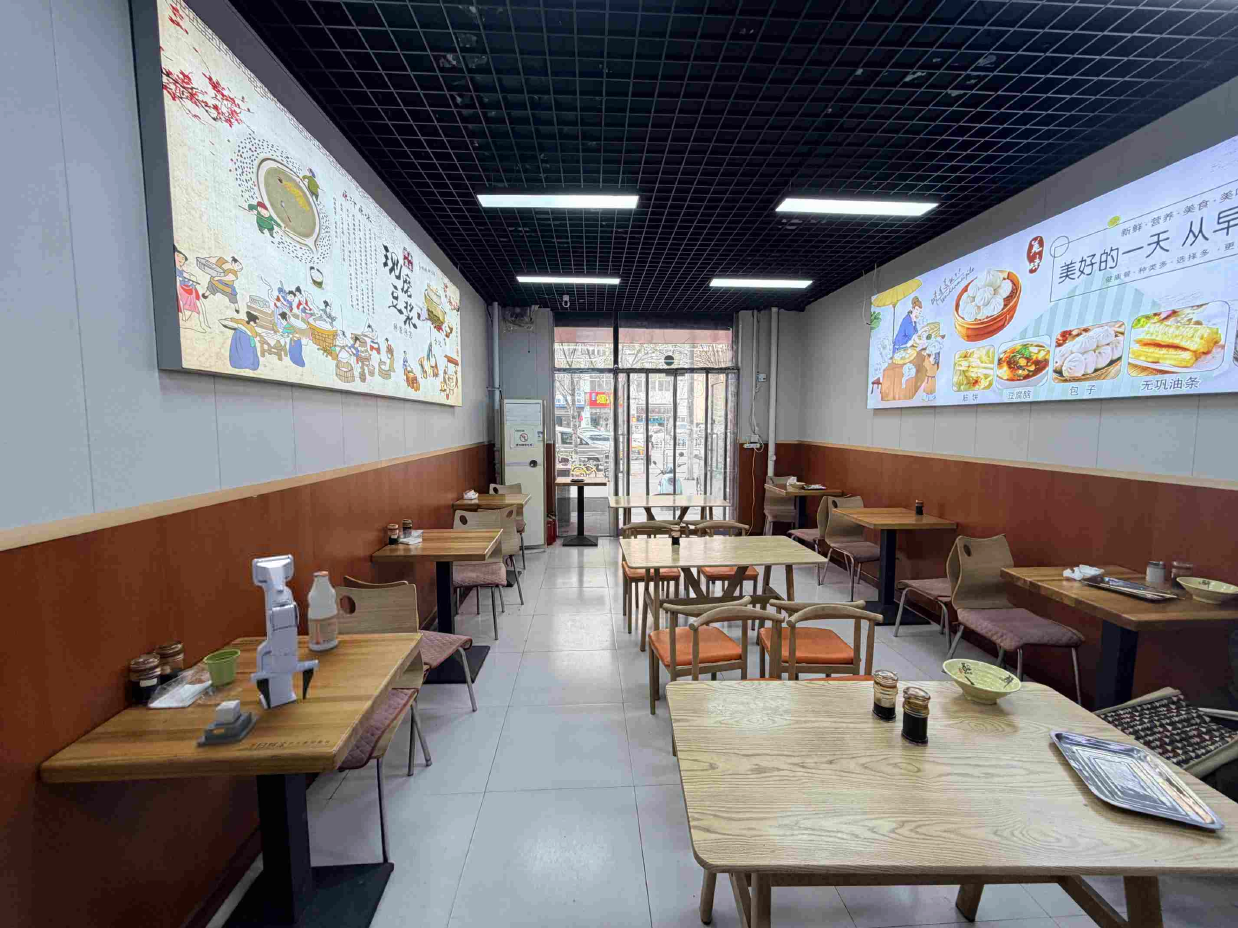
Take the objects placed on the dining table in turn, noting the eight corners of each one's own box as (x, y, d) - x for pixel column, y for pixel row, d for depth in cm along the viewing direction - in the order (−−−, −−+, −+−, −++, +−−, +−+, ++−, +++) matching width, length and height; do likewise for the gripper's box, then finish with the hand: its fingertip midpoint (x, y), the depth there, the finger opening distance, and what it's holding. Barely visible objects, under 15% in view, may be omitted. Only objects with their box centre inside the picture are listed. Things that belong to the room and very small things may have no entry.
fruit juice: (303, 651, 189) (300, 576, 188) (319, 640, 199) (316, 569, 197) (329, 651, 189) (326, 576, 187) (343, 640, 199) (340, 569, 197)
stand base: (218, 724, 142) (217, 712, 141) (258, 719, 144) (258, 707, 144) (196, 746, 132) (196, 732, 132) (241, 740, 134) (240, 727, 134)
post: (224, 724, 139) (223, 701, 139) (241, 722, 140) (240, 699, 140) (216, 733, 135) (214, 709, 135) (233, 731, 136) (232, 707, 136)
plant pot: (198, 690, 161) (196, 663, 160) (215, 676, 170) (214, 650, 170) (231, 687, 163) (230, 660, 162) (247, 673, 172) (245, 648, 171)
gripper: (249, 664, 126) (252, 717, 127) (317, 650, 134) (319, 700, 135) (251, 653, 132) (253, 704, 133) (316, 641, 140) (318, 689, 141)
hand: (287, 702), depth 134 cm, fingers open, 7 cm apart
